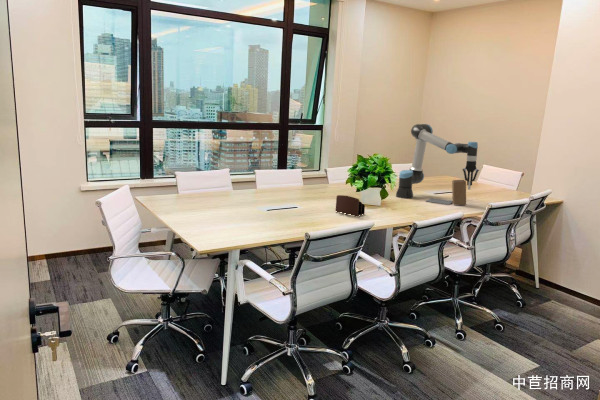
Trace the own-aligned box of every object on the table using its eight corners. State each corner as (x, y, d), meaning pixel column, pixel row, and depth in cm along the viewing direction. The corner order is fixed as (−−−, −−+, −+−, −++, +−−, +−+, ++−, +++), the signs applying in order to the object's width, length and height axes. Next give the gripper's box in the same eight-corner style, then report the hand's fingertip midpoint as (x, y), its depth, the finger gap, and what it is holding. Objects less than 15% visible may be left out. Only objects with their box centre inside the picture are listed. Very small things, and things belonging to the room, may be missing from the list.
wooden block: (466, 205, 382) (466, 181, 379) (453, 205, 385) (453, 181, 381) (464, 202, 392) (464, 179, 388) (452, 203, 394) (452, 179, 391)
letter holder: (357, 217, 337) (358, 198, 334) (335, 212, 349) (336, 194, 346) (364, 214, 345) (365, 196, 342) (342, 210, 357) (343, 192, 354)
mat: (425, 201, 395) (425, 200, 395) (431, 198, 409) (431, 197, 408) (449, 205, 385) (449, 204, 385) (454, 202, 398) (454, 201, 398)
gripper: (462, 160, 377) (460, 189, 382) (478, 161, 371) (476, 190, 375) (464, 159, 384) (462, 187, 388) (480, 160, 377) (478, 189, 381)
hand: (469, 189), depth 382 cm, fingers closed
